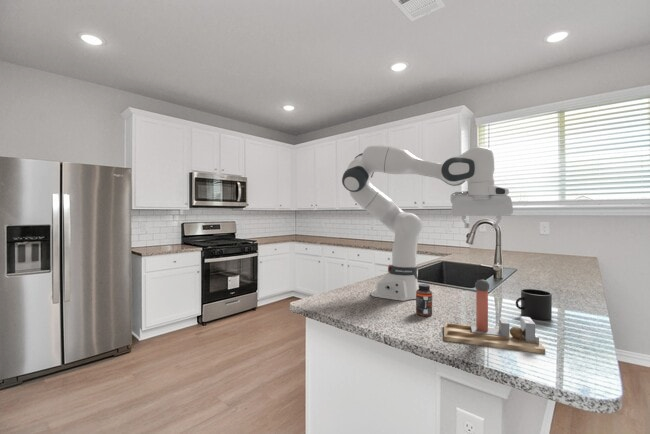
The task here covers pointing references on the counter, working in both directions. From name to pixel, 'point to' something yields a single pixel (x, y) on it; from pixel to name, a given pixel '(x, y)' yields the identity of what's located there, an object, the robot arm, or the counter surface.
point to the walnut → (516, 332)
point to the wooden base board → (487, 339)
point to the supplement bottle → (424, 300)
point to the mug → (535, 304)
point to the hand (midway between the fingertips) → (480, 228)
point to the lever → (486, 313)
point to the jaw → (529, 331)
